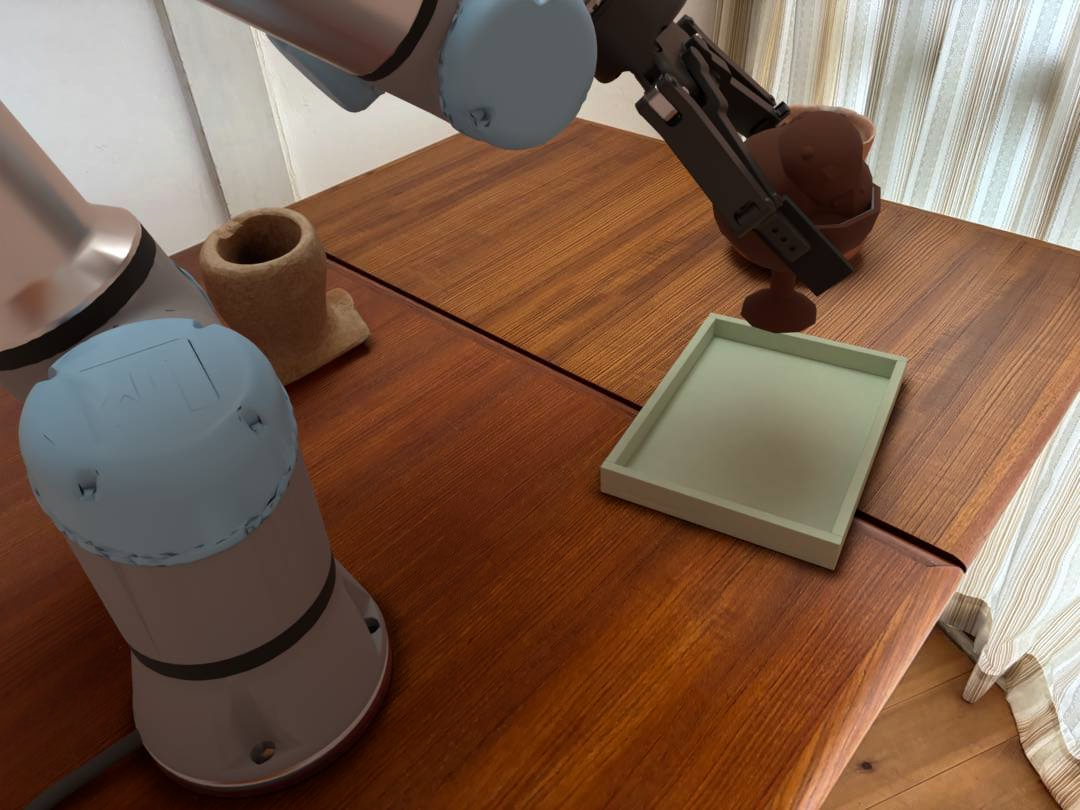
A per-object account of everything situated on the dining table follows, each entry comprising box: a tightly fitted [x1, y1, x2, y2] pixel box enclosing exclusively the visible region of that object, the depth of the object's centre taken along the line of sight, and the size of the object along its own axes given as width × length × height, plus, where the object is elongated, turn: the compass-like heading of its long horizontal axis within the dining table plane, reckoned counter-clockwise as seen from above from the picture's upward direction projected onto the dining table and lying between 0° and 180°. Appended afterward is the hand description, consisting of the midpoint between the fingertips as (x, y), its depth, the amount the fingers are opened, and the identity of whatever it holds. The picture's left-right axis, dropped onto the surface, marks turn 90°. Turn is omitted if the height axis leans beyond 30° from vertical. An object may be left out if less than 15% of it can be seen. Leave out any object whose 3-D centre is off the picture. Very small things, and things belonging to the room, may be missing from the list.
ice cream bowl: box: [711, 110, 882, 334], centre depth 57 cm, size 11×11×15 cm
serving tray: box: [599, 312, 909, 571], centre depth 68 cm, size 24×18×3 cm
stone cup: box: [198, 206, 372, 387], centre depth 76 cm, size 15×12×15 cm
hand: (830, 238), depth 57 cm, fingers closed on ice cream bowl, 11 cm apart
